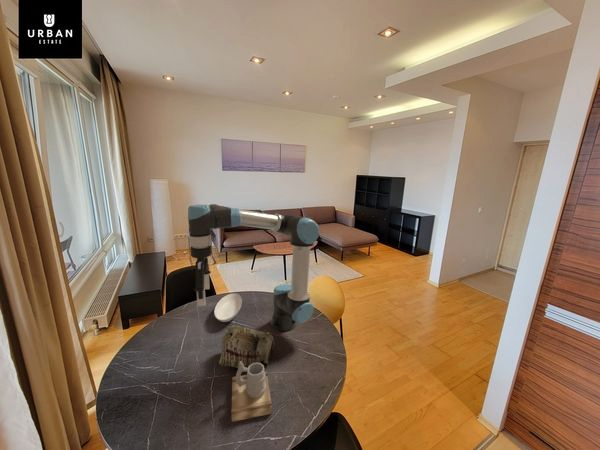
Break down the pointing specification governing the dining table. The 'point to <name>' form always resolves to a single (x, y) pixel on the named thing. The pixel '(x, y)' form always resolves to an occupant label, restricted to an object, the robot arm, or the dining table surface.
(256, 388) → the mug
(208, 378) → the dining table surface
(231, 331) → the sculptural head
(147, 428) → the dining table surface
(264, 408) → the plinth
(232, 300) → the bowl
